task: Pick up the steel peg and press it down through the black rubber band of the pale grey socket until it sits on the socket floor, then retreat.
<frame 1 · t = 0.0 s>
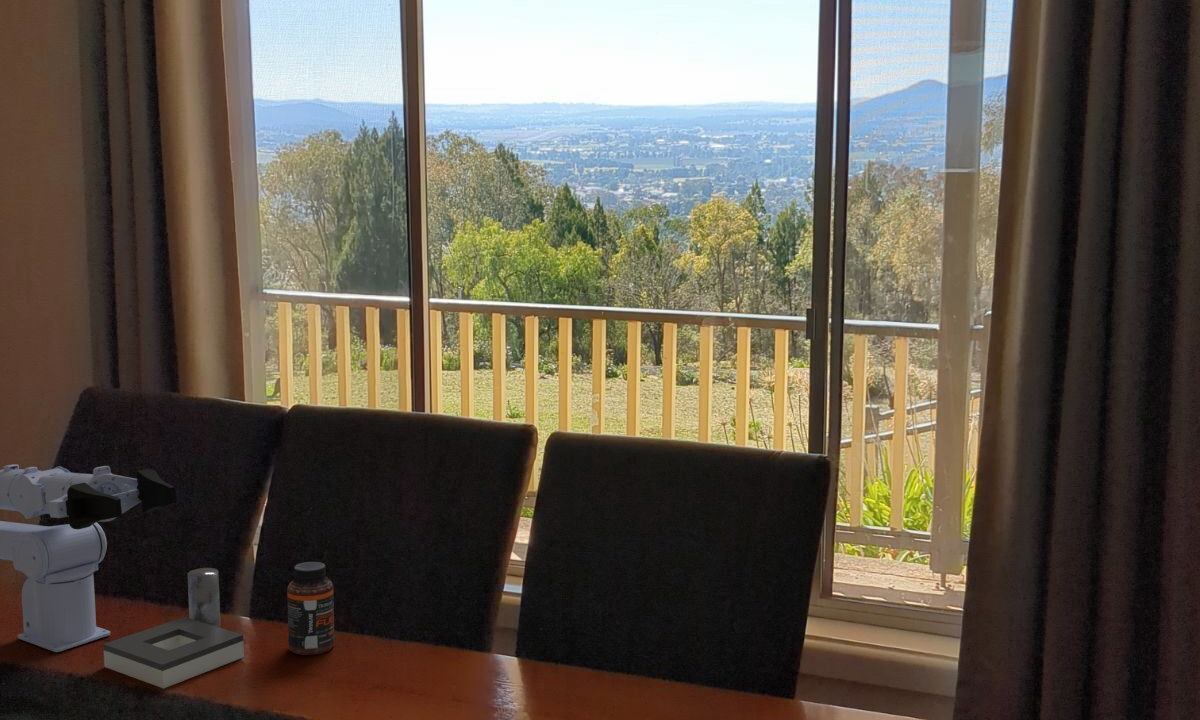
hand: (146, 501, 142), 22 cm above the table, tool horizontal, fingers open, 7 cm apart
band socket: (175, 661, 147), on the table
supplement bottle: (311, 650, 152), on the table
steel peg: (205, 628, 159), on the table
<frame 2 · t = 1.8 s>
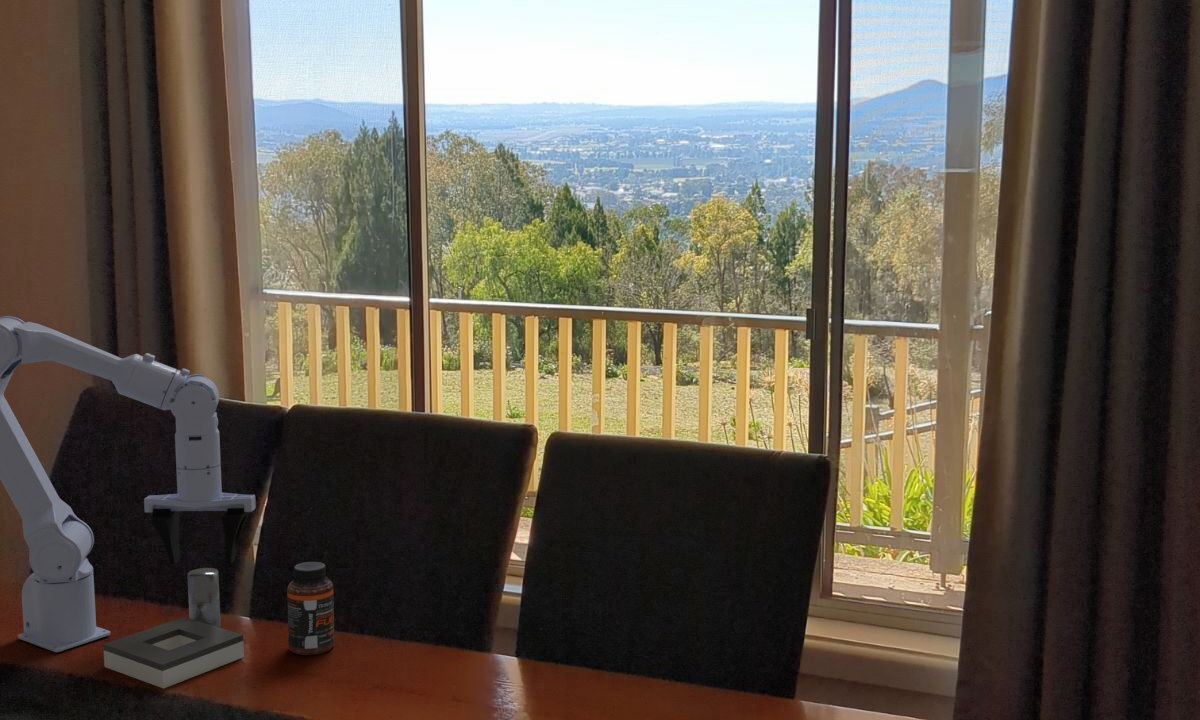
hand: (202, 562, 158), 9 cm above the table, tool pointing down, fingers open, 7 cm apart
nothing on the table moved.
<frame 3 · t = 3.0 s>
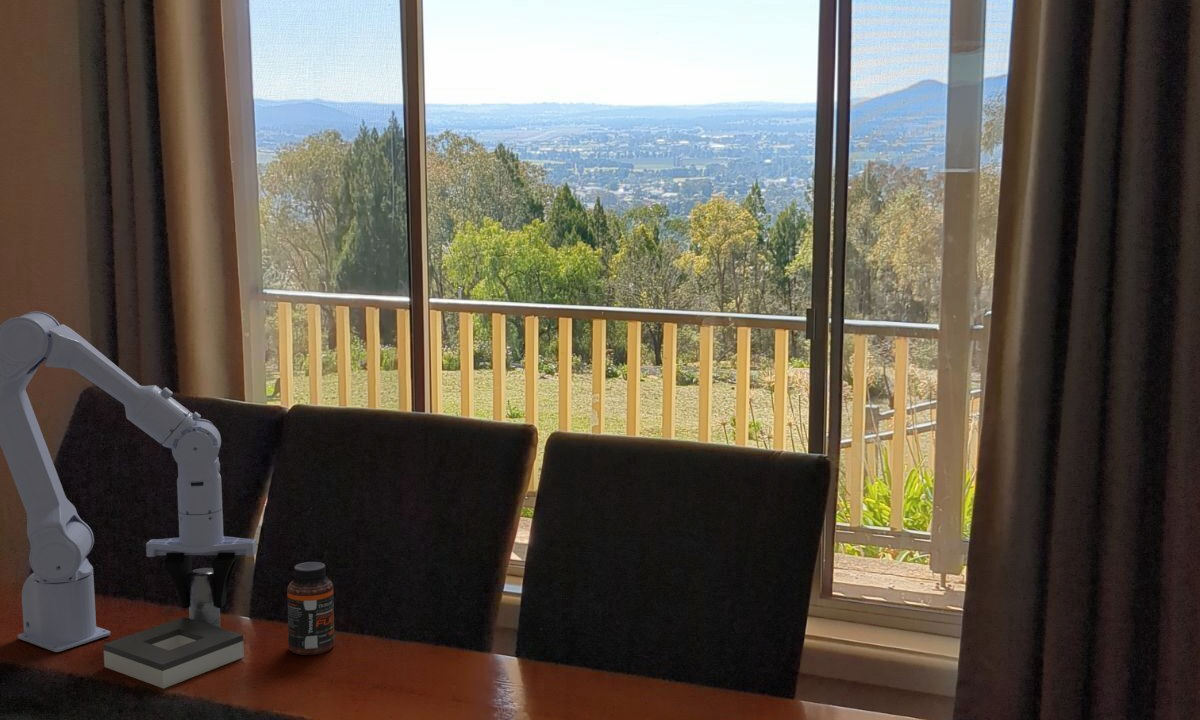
hand: (204, 605, 159), 3 cm above the table, tool pointing down, fingers closed on steel peg, 4 cm apart
steel peg: (205, 628, 159), on the table, touching gripper
everything else where it was.
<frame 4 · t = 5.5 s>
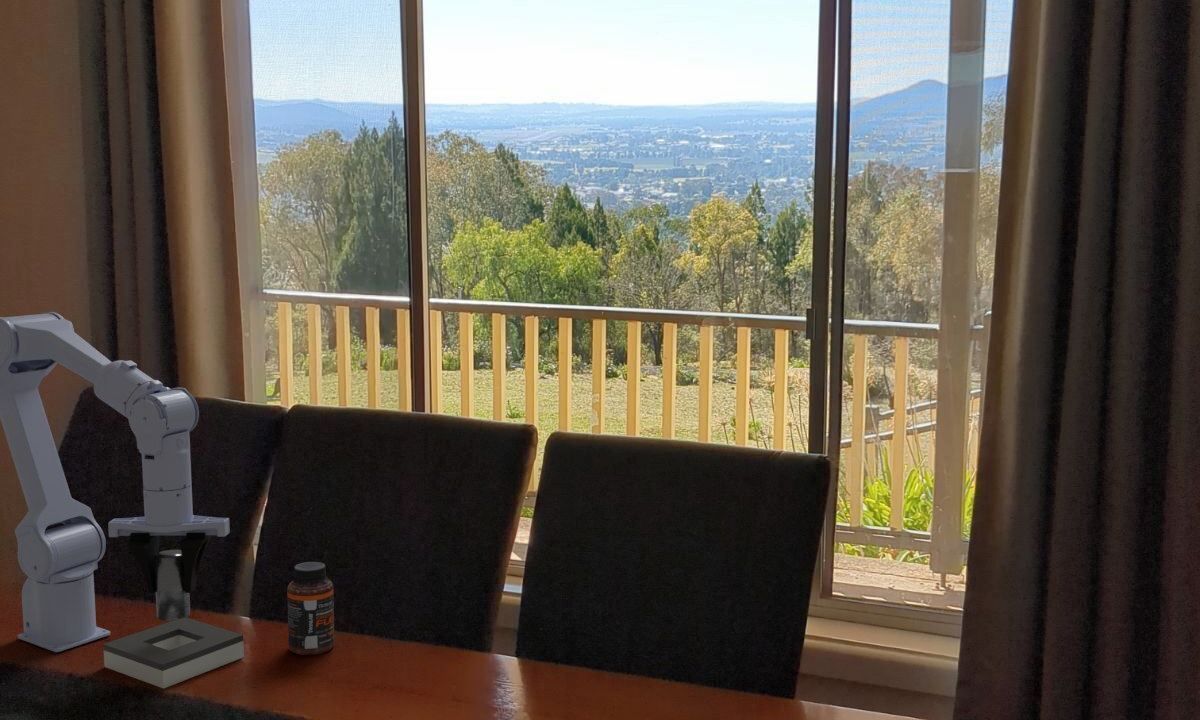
hand: (172, 590, 146), 9 cm above the table, tool pointing down, fingers closed on steel peg, 4 cm apart
steel peg: (173, 615, 146), point 6 cm above the table, touching gripper
everything else where it was.
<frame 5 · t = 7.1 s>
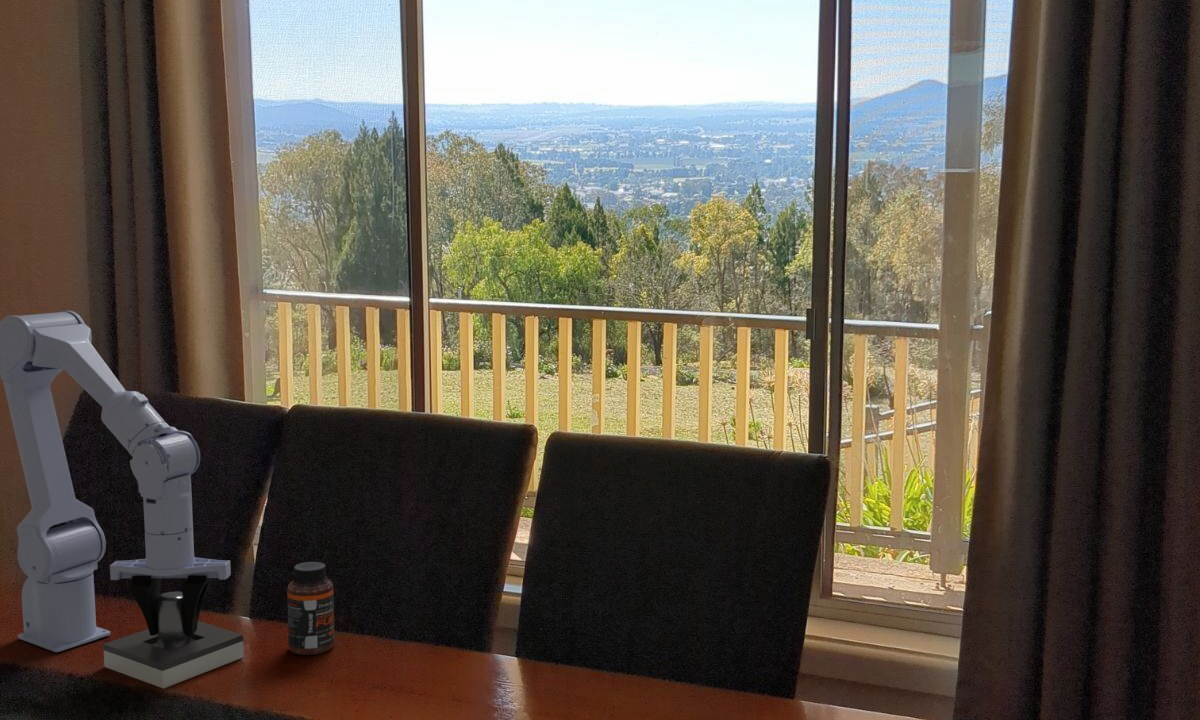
hand: (173, 632, 147), 4 cm above the table, tool pointing down, fingers closed on steel peg, 4 cm apart
steel peg: (174, 656, 147), point 1 cm above the table, touching gripper
everything else where it was.
when the fingers open (4 cm above the table, at t = 8.0 s): steel peg stays where it is, resting on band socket.
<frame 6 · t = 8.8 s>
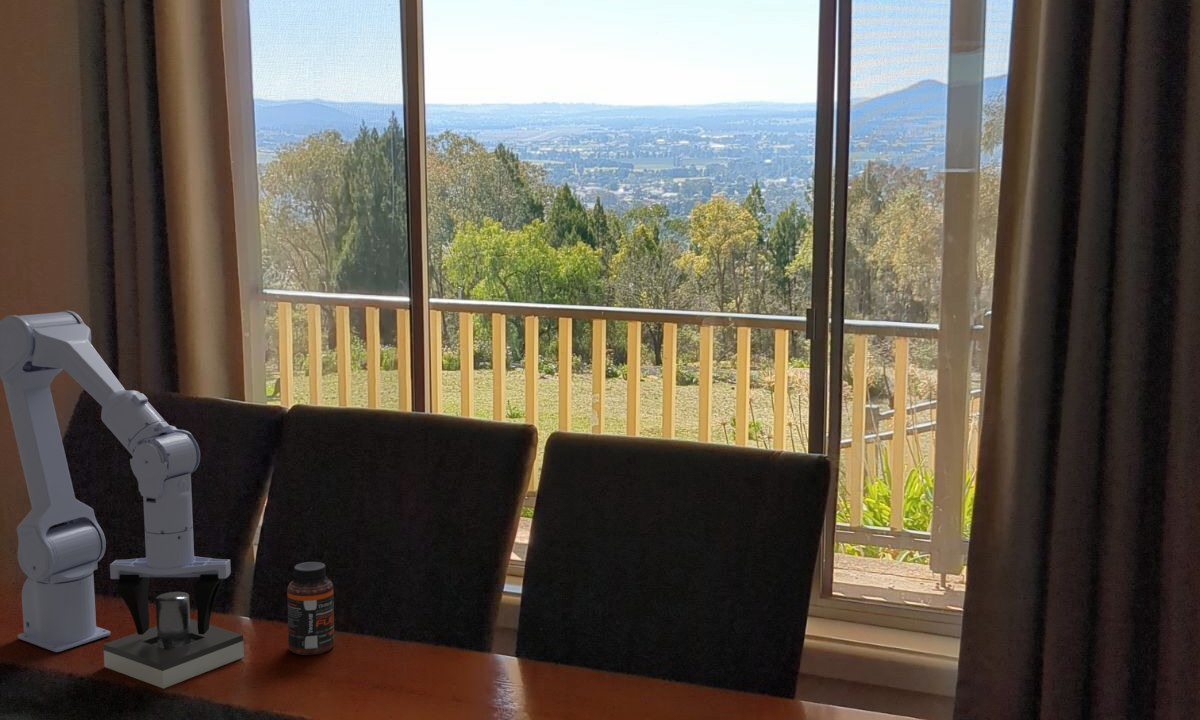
hand: (173, 631, 146), 4 cm above the table, tool pointing down, fingers open, 7 cm apart
steel peg: (174, 657, 147), point 1 cm above the table, touching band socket
everything else where it was.
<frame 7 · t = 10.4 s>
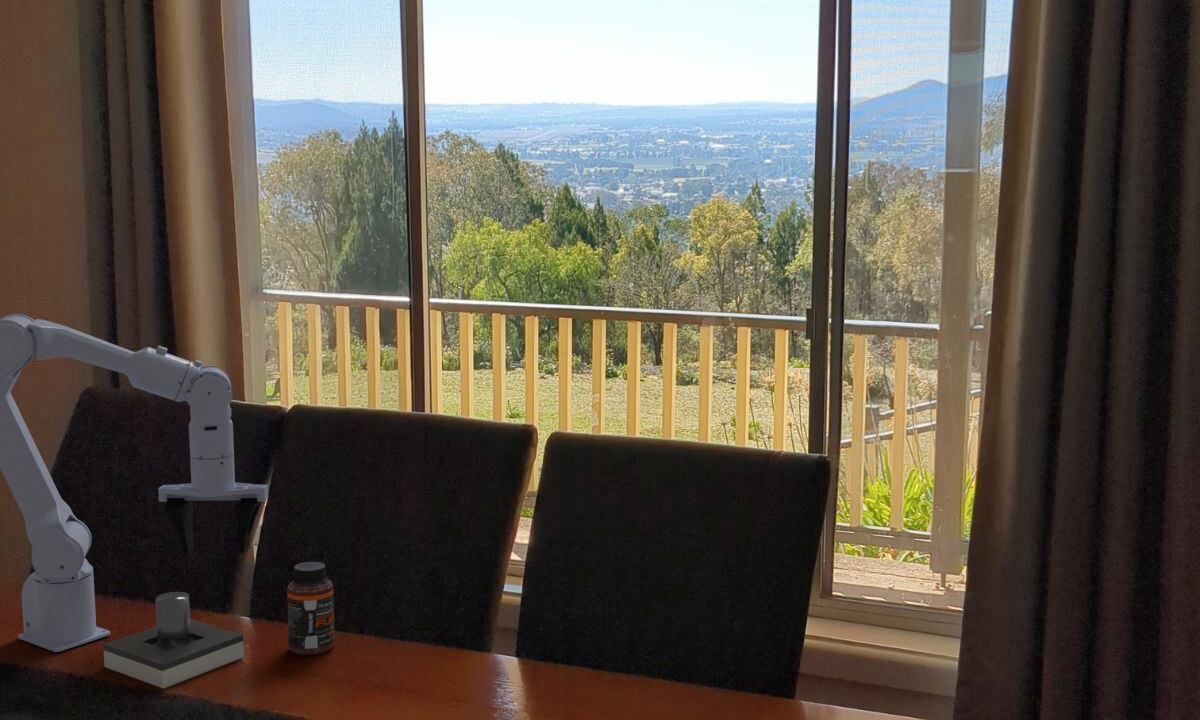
hand: (216, 551, 160), 10 cm above the table, tool pointing down, fingers open, 7 cm apart
nothing on the table moved.
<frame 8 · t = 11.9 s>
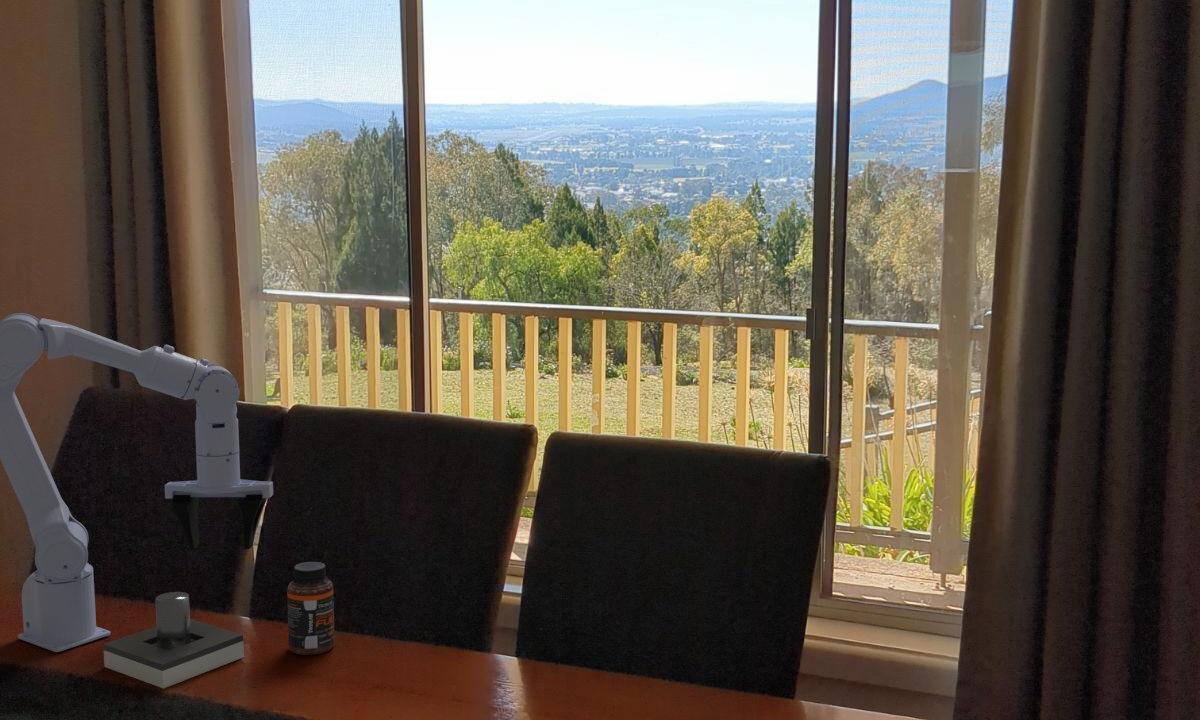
hand: (221, 547, 162), 10 cm above the table, tool pointing down, fingers open, 7 cm apart
nothing on the table moved.
at the end: steel peg 0.1 cm off-centre on the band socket, point 0.6 cm above the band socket's base; steel peg tilted 0°; the gripper is holding nothing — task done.
